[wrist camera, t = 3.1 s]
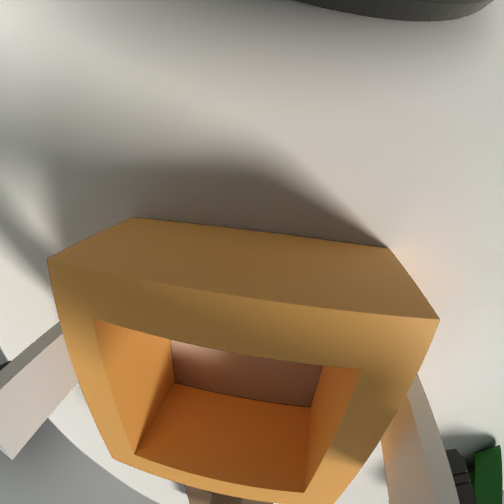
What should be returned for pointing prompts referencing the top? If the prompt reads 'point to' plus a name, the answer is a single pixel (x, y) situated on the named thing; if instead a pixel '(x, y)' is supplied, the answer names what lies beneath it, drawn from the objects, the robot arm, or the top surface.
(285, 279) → the orange hollow square frame
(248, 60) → the top surface
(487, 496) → the clamp
